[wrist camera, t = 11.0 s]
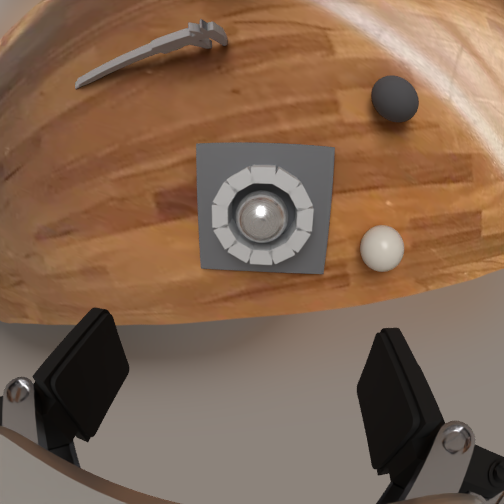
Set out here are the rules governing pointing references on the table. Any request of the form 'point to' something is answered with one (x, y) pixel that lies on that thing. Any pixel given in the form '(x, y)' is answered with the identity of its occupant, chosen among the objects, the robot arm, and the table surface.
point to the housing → (269, 179)
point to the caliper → (161, 48)
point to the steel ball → (261, 216)
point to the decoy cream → (382, 248)
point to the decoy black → (395, 98)
